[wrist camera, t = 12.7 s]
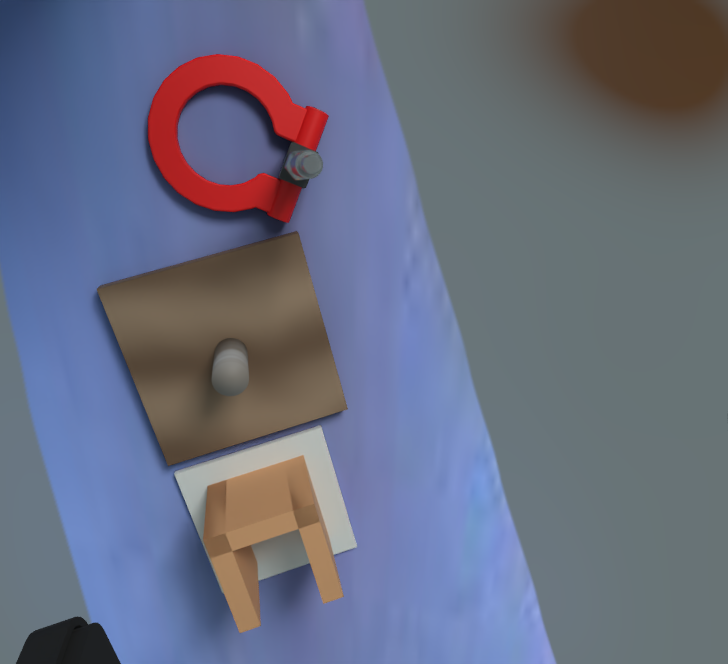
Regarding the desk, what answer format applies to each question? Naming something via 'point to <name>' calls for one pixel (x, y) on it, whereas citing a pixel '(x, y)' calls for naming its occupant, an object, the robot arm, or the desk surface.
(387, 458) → the desk surface
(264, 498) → the c link
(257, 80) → the tow hook
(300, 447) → the pad
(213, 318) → the stand
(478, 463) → the desk surface
